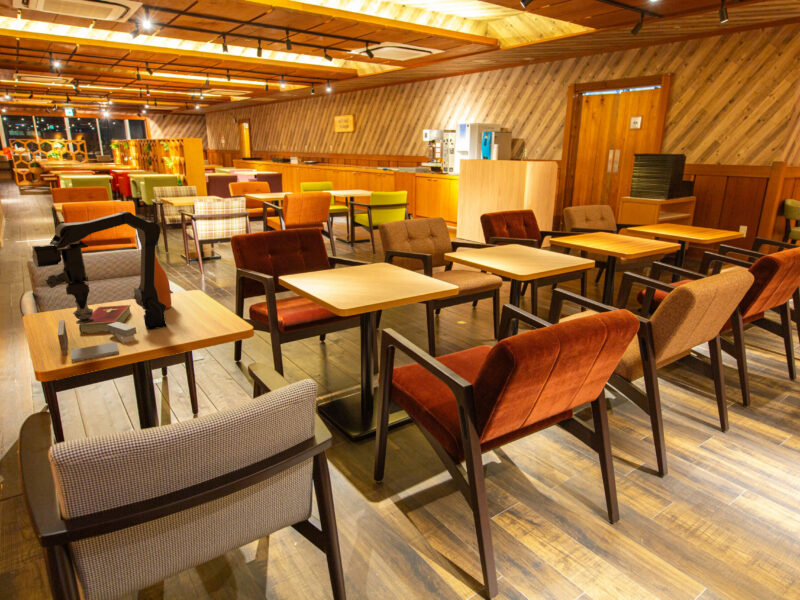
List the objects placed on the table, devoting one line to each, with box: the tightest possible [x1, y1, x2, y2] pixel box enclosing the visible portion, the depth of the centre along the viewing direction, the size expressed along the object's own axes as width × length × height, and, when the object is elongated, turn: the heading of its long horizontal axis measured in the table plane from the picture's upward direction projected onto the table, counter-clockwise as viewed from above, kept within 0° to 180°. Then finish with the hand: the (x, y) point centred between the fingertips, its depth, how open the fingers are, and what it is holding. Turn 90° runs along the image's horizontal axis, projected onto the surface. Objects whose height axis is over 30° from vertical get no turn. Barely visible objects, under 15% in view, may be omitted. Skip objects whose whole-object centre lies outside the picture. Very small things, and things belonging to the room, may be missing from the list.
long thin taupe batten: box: [57, 319, 69, 356], centre depth 167 cm, size 2×16×7 cm, turn 32°
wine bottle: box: [154, 253, 172, 310], centre depth 204 cm, size 10×10×30 cm
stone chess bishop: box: [72, 300, 94, 325], centre depth 167 cm, size 6×6×12 cm
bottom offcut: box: [112, 332, 136, 344], centre depth 177 cm, size 4×12×2 cm, turn 43°
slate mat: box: [70, 341, 120, 363], centre depth 163 cm, size 13×9×1 cm
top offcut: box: [108, 322, 138, 337], centre depth 176 cm, size 4×11×2 cm, turn 59°
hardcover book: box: [78, 304, 131, 334], centre depth 190 cm, size 12×21×4 cm, turn 14°
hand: (82, 307), depth 167 cm, fingers closed on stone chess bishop, 3 cm apart
